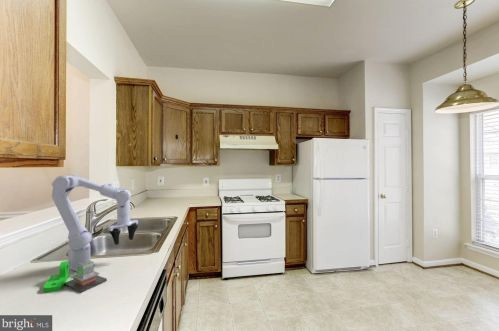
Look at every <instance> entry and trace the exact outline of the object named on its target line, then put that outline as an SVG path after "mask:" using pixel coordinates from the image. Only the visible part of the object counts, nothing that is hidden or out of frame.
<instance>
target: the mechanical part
mask: <svg viewBox="0 0 499 331" xmlns="http://www.w3.org/2000/svg"><path fill="white" fill-rule="evenodd" d="M58 270H59V271H58V274H53V275H50V277H49V278H48V279H47V280H46V282H45V283H44V285H43V290H42V291H43V292H44V293H46V294H47V293H50V294H51V293H54V292H60V291H62V289H63V287H65V286H64V283H65V282H68V279H69V278H70V269H69V262H68V260H64V261H61V262H60V263H59V269H58Z"/></svg>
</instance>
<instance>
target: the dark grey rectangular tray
mask: <svg viewBox="0 0 499 331" xmlns="http://www.w3.org/2000/svg"><path fill="white" fill-rule="evenodd" d="M70 278H71V279H70V280H67V281H66V282H65V283H64V286H63V287H66V288H68V289H70V290H72V291H76V292H78V293H80V294H82V293H84V292H86V291H88V290H91V289H92V288H95V287H97V286H99V285H102V284H104V283H106V282H107V281H108V280H107V278H106V277H103V276H100V272H97V271H95V270H94V274H92V275H90V276H87V277H85V278H82V277H79V276H78V273H77V274H74V275H72V276H71V277H70Z"/></svg>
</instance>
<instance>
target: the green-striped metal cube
mask: <svg viewBox="0 0 499 331" xmlns="http://www.w3.org/2000/svg"><path fill="white" fill-rule="evenodd" d="M94 264H95V263H94V261H92V260H91V261H89V260H87V261H84V262H81V263H78V264H77V271H76V272H77V274H78V276H79V277H82V278H85V277H87V276H90V275H92V274H94V271H95V265H94Z"/></svg>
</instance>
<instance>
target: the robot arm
mask: <svg viewBox="0 0 499 331" xmlns="http://www.w3.org/2000/svg"><path fill="white" fill-rule="evenodd" d="M51 186H52V194H51V199H52V201H53V203H54V205H55V207H56V209H57V211H58V213H59V215H60V217H61V218H62V219H61V220H63V222H64V225H65V226H66V229H67V230H68V236H67V240H68V241H69V242H68V245H69V248H70V249H69V250H68V253H67V259H68V260H67V261H68V262H69V270H72V271H75V272H78V271H77V264H78V263H81V262H84V261H87V260H89V261H92V260H91V241H92V240H93V234H92V233H91V232H89V231H88V229H87V227H85V226H83V225H82V223H81V221H80V218H79V217H78V216H79V215H77V212H76V210H75V209H74V207H73V204H72V202H71V201H70V198H69V195H70V193H71V191H72V190H74V189H75V188H76V187H78V188H79V187H82V188H86V189H89V190H93V191H95V192H99V194H100V196H103V197H105V198H109V199H112V200H115V201H116V204H117V205H116V223H114V224H112V225H109V226H108V227H107V230H108V232H109V234H110V236H111V237H112V239H113V242H114V245H119V243H120V234H121V230H119V229H123V228H127V231H128V232H127V233H128V240H131V241H132V240H134V237H135V236H134V235H135V233H136V231H137V229H138V224H139V220H138V219H133V220H131V204H130V203H131V197H132V192H131V190H129V189H127V188H124V189H123V188H122V187H117V186H114V185H113V184H112V183H108V184H107V183H105V184H100V183H98V182H96V181H93V180H90V179H88V178H85V177H82V176H78V175H74V174H68V175H59V176H57V177H55V179H54V180H53V181H52V183H51ZM94 266H95V263H94Z"/></svg>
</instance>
